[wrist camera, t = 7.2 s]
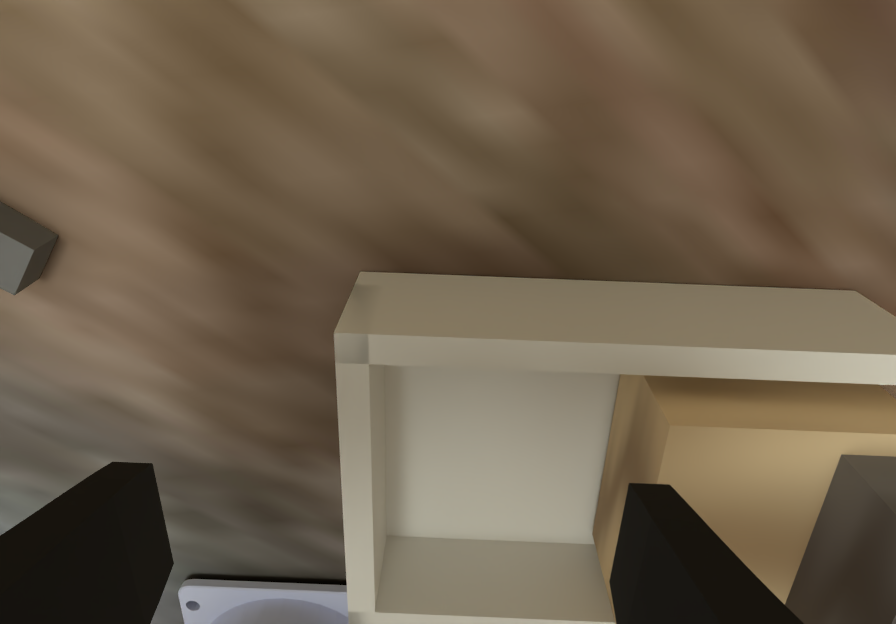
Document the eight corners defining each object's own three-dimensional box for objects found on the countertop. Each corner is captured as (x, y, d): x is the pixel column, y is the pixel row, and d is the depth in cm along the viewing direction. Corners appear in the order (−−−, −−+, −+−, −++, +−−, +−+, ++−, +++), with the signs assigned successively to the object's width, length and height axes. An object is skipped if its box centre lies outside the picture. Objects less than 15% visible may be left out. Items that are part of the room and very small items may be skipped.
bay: (767, 547, 22) (829, 649, 18) (367, 530, 22) (348, 629, 18) (854, 290, 18) (957, 357, 14) (360, 271, 18) (333, 332, 14)
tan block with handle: (772, 541, 20) (910, 766, 14) (592, 534, 20) (649, 755, 14) (838, 350, 17) (1051, 529, 11) (625, 342, 17) (718, 515, 11)
